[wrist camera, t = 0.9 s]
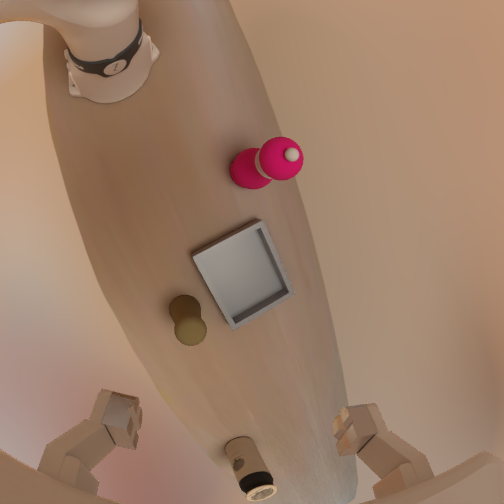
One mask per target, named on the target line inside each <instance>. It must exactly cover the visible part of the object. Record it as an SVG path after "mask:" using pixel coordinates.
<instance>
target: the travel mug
mask: <svg viewBox="0 0 504 504" xmlns="http://www.w3.org/2000/svg"><path fill="white" fill-rule="evenodd" d="M225 450H226V453H227V456H228V458H229V461H230V463H231V466H232V468H233V471H234V473H235V476H236V478H237V481H238V483H239V485H240V488H241V490H242V491H243V492H245V493H246V499H247V500H249V501H260V500H264V499H267V498H269V497H271V496H272V495H274V494H275V493H276V491H277V487H276V486H274V485H273V478H272V476H271V474H270V472H269V470H268V469H267V467H266V465H265V463H264V461H263V459H262V457H261V455H260V453H259V451H258V449H257V447H256V445H255V443H254V442H253V440H252V439H250V438H247V437H240V438H236V439H234V440H232V441H230V442H229V443H228V444H227V445H226V447H225Z"/></svg>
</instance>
